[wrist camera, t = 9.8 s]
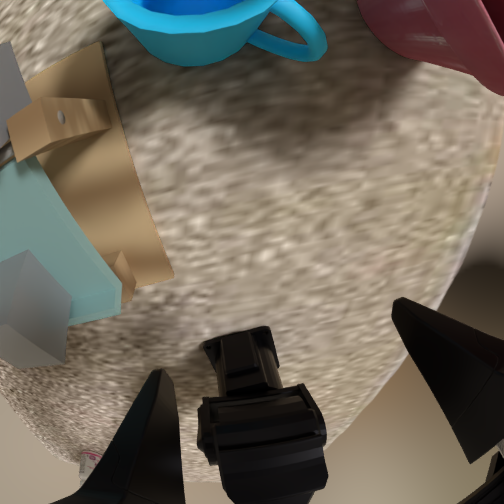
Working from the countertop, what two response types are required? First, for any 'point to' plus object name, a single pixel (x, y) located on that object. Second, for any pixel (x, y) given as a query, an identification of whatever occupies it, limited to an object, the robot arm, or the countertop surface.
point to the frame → (90, 164)
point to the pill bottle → (88, 464)
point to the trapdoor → (48, 218)
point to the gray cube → (32, 313)
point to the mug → (216, 28)
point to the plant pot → (444, 34)
